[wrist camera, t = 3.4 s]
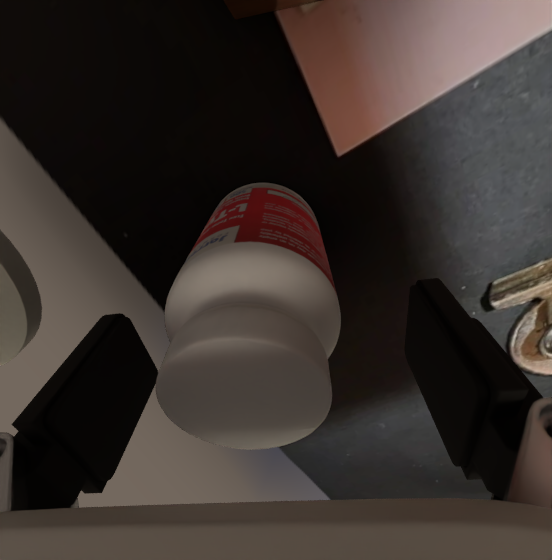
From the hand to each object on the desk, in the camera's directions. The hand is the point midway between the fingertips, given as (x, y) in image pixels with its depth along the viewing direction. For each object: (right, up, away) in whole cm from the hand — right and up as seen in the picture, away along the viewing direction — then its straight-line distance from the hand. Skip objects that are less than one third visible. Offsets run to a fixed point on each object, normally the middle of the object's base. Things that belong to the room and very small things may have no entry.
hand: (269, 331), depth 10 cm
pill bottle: (0, +4, +7) cm, 9 cm away
